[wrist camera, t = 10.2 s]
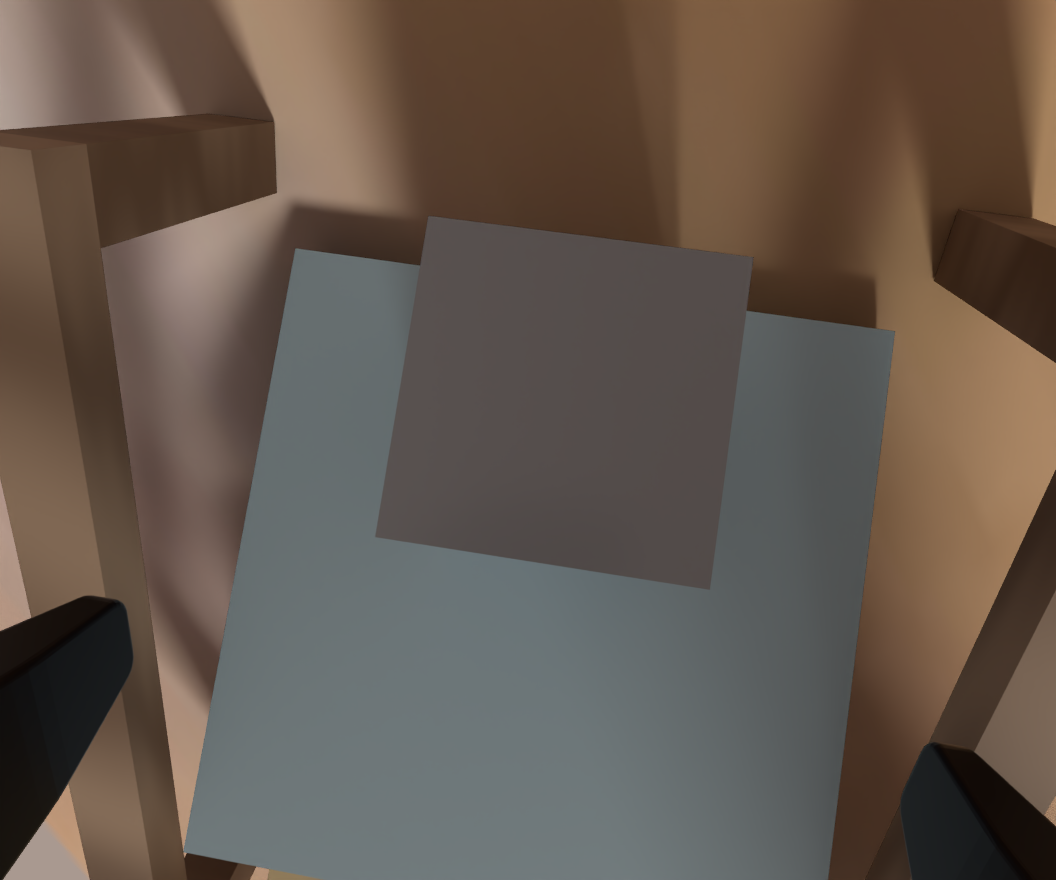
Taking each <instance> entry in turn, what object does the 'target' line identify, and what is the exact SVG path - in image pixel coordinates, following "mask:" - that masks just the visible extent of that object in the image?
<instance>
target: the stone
mask: <svg viewBox="0 0 1056 880" xmlns="http://www.w3.org/2000/svg"><path fill="white" fill-rule="evenodd" d="M753 258H754V257H748V256H740V255H732V254H724V253H717V252H709V251H701V250H693V249H685V248H677V247H670V246H662V245H654V244H646V243H638V242H630V241H622V240H615V239H607V238H599V237H591V236H583V235H575V234H568V233H560V232H552V231H544V230H536V229H528V228H521V227H513V226H505V225H497V224H489V223H481V222H474V221H466V220H458V219H450V218H442V217H434V216H428V221H427V227H426V233H425V239H424V245H423V251H422V257H421V263H420V269H419V275H418V282H417V288H416V294H415V300H414V306H413V312H412V318H411V324H410V330H409V336H408V342H407V348H406V354H405V360H404V366H403V372H402V378H401V384H400V390H399V396H398V402H397V408H396V414H395V420H394V426H393V432H392V438H391V444H390V450H389V456H388V462H387V468H386V474H385V480H384V486H383V492H382V498H381V504H380V510H379V516H378V522H377V529H376V535H375V537H377V538H384V539H390V540H396V541H403V542H409V543H415V544H422V545H428V546H435V547H441V548H447V549H454V550H460V551H466V552H473V553H479V554H485V555H492V556H498V557H504V558H511V559H517V560H523V561H530V562H536V563H543V564H549V565H555V566H562V567H568V568H574V569H581V570H587V571H593V572H600V573H606V574H612V575H619V576H625V577H631V578H638V579H644V580H650V581H657V582H663V583H670V584H676V585H682V586H689V587H695V588H701V589H708V590H710V585H711V578H712V570H713V562H714V555H715V547H716V540H717V532H718V524H719V517H720V509H721V502H722V494H723V486H724V479H725V471H726V463H727V456H728V448H729V441H730V433H731V425H732V418H733V410H734V402H735V395H736V387H737V380H738V372H739V364H740V357H741V349H742V342H743V334H744V326H745V319H746V311H747V303H748V296H749V288H750V281H751V273H752V265H753Z"/></svg>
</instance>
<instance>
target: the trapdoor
mask: <svg viewBox="0 0 1056 880" xmlns="http://www.w3.org/2000/svg"><path fill="white" fill-rule="evenodd" d="M419 269H420V265H412V264H405V263H398V262H391V261H383V260H376V259H369V258H362V257H355V256H347V255H340V254H333V253H326V252H318V251H311V250H304V249H297V248H295V254H294V259H293V264H292V270H291V275H290V281H289V286H288V291H287V297H286V302H285V307H284V313H283V318H282V324H281V329H280V334H279V340H278V345H277V351H276V356H275V361H274V367H273V372H272V377H271V383H270V388H269V394H268V399H267V404H266V410H265V415H264V421H263V426H262V431H261V437H260V442H259V447H258V453H257V458H256V464H255V469H254V474H253V480H252V485H251V491H250V496H249V501H248V507H247V512H246V517H245V523H244V528H243V534H242V539H241V544H240V550H239V555H238V561H237V566H236V571H235V577H234V582H233V587H232V593H231V598H230V604H229V609H228V614H227V620H226V625H225V631H224V636H223V641H222V647H221V652H220V657H219V663H218V668H217V674H216V679H215V684H214V690H213V695H212V700H211V706H210V711H209V717H208V722H207V727H206V733H205V738H204V744H203V749H202V754H201V760H200V765H199V770H198V776H197V781H196V787H195V792H194V797H193V803H192V808H191V814H190V819H189V824H188V830H187V835H186V840H185V846H184V851H183V852H185V853H191V854H196V855H201V856H206V857H211V858H216V859H221V860H226V861H231V862H236V863H241V864H247V865H252V866H257V867H262V868H267V869H269V874H268V880H828V875H829V867H830V859H831V851H832V843H833V834H834V826H835V818H836V810H837V802H838V794H839V785H840V777H841V769H842V761H843V753H844V744H845V736H846V728H847V720H848V712H849V704H850V695H851V687H852V679H853V671H854V663H855V654H856V646H857V638H858V630H859V622H860V614H861V605H862V597H863V589H864V581H865V573H866V564H867V556H868V548H869V540H870V532H871V524H872V515H873V507H874V499H875V491H876V483H877V474H878V466H879V458H880V450H881V442H882V434H883V425H884V417H885V409H886V401H887V393H888V384H889V376H890V368H891V360H892V352H893V343H894V335H895V331H889V330H882V329H874V328H867V327H860V326H853V325H846V324H838V323H831V322H824V321H817V320H809V319H802V318H795V317H788V316H781V315H773V314H766V313H759V312H752V311H746V319H745V326H744V334H743V342H742V349H741V357H740V364H739V372H738V380H737V387H736V395H735V402H734V410H733V418H732V425H731V433H730V441H729V448H728V456H727V463H726V471H725V479H724V486H723V494H722V502H721V509H720V517H719V524H718V532H717V540H716V547H715V555H714V562H713V570H712V578H711V585H710V590H708V589H701V588H695V587H689V586H682V585H676V584H670V583H663V582H657V581H650V580H644V579H638V578H631V577H625V576H619V575H612V574H606V573H600V572H593V571H587V570H581V569H574V568H568V567H562V566H555V565H549V564H543V563H536V562H530V561H523V560H517V559H511V558H504V557H498V556H492V555H485V554H479V553H473V552H466V551H460V550H454V549H447V548H441V547H435V546H428V545H422V544H415V543H409V542H403V541H396V540H390V539H384V538H377V537H375V535H376V529H377V522H378V516H379V510H380V504H381V498H382V492H383V486H384V480H385V474H386V468H387V462H388V456H389V450H390V444H391V438H392V432H393V426H394V420H395V414H396V408H397V402H398V396H399V390H400V384H401V378H402V372H403V366H404V360H405V354H406V348H407V342H408V336H409V330H410V324H411V318H412V312H413V306H414V300H415V294H416V288H417V282H418V275H419Z"/></svg>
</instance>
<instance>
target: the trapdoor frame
mask: <svg viewBox="0 0 1056 880" xmlns="http://www.w3.org/2000/svg"><path fill="white" fill-rule="evenodd" d="M275 193H277V187H276V159H275V131H274V122H270V121H262V120H254V119H246V118H238V117H230V116H222V115H215V114H199V115H186V116H174V117H161V118H148V119H135V120H123V121H110V122H97V123H85V124H72V125H59V126H47V127H34V128H21V129H9V130H0V479H1V483H2V488H3V492H4V497H5V501H6V506H7V510H8V515H9V519H10V524H11V528H12V533H13V537H14V542H15V546H16V551H17V555H18V560H19V564H20V568H21V573H22V577H23V582H24V586H25V591H26V595H27V600H28V604H29V609H30V613H31V618H32V617H35V616H37V615H39V614H42V613H44V612H46V611H49V610H51V609H53V608H56V607H58V606H61V605H63V604H65V603H68V602H70V601H72V600H75V599H77V598H80V597H82V596H87V595H94V596H100V597H105V598H111V599H117V600H119V601H121V602H122V603H123V604H124V605H125V607H126V609H127V613H128V620H129V626H130V633H131V640H132V646H133V653H134V659H133V666H132V670H131V672H130V675H129V677H128V679H127V681H126V683H125V684H124V686H123V688H122V690H121V691H120V693H119V695H118V697H117V698H116V700H115V702H114V704H113V705H112V707H111V709H110V711H109V713H108V714H107V716H106V718H105V720H104V721H103V723H102V725H101V727H100V728H99V730H98V732H97V734H96V735H95V737H94V739H93V741H92V743H91V744H90V746H89V748H88V750H87V751H86V753H85V755H84V757H83V758H82V760H81V762H80V764H79V765H78V767H77V769H76V771H75V773H74V774H73V776H72V778H71V780H70V781H69V783H68V784H69V788H70V793H71V797H72V802H73V806H74V811H75V815H76V820H77V824H78V829H79V833H80V837H81V842H82V846H83V851H84V855H85V860H86V864H87V869H88V873H89V878H90V880H250V878H251V876H252V874H253V872H254V870H255V868H256V866H252V865H247V864H241V863H236V862H231V861H226V860H221V859H216V858H211V857H206V856H201V855H196V854H191V853H187V854H186V856H185V858H184V854H183V847H182V839H181V832H180V825H179V817H178V810H177V803H176V795H175V788H174V781H173V773H172V766H171V759H170V752H169V744H168V737H167V730H166V722H165V715H164V708H163V700H162V693H161V686H160V679H159V671H158V664H157V657H156V649H155V642H154V635H153V627H152V620H151V613H150V605H149V598H148V591H147V584H146V576H145V569H144V562H143V554H142V547H141V540H140V532H139V525H138V518H137V510H136V503H135V496H134V489H133V481H132V474H131V467H130V459H129V452H128V445H127V437H126V430H125V423H124V416H123V408H122V401H121V394H120V386H119V379H118V372H117V364H116V357H115V350H114V342H113V335H112V328H111V321H110V313H109V306H108V299H107V291H106V284H105V277H104V269H103V262H102V255H101V248H103V247H106V246H109V245H113V244H116V243H119V242H122V241H125V240H129V239H132V238H135V237H138V236H141V235H144V234H148V233H151V232H154V231H157V230H160V229H164V228H167V227H170V226H173V225H176V224H179V223H183V222H186V221H189V220H192V219H195V218H199V217H202V216H205V215H208V214H211V213H214V212H218V211H221V210H224V209H227V208H230V207H234V206H237V205H240V204H243V203H246V202H249V201H253V200H256V199H259V198H262V197H265V196H269V195H272V194H275ZM934 281H935V282H936V283H938V284H939V285H941V286H942V287H944V288H945V289H947V290H948V291H950V292H951V293H953V294H954V295H956V296H957V297H959V298H960V299H962V300H963V301H965V302H966V303H968V304H969V305H971V306H972V307H974V308H975V309H977V310H978V311H980V312H981V313H982V314H984V315H985V316H987V317H988V318H990V319H991V320H993V321H994V322H996V323H997V324H999V325H1000V326H1002V327H1003V328H1005V329H1006V330H1008V331H1009V332H1011V333H1012V334H1014V335H1015V336H1017V337H1018V338H1020V339H1021V340H1023V341H1024V342H1026V343H1027V344H1029V345H1030V346H1031V347H1033V348H1034V349H1036V350H1037V351H1039V352H1040V353H1042V354H1043V355H1045V356H1046V357H1048V358H1049V359H1051V360H1052V361H1054V362H1055V363H1056V226H1053V225H1051V224H1048V223H1045V222H1042V221H1039V220H1036V219H1033V218H1025V217H1017V216H1009V215H1002V214H994V213H986V212H978V211H970V210H962V209H958V212H957V215H956V218H955V221H954V223H953V226H952V229H951V232H950V235H949V238H948V241H947V244H946V247H945V250H944V253H943V256H942V258H941V261H940V264H939V267H938V270H937V273H936V276H935V279H934ZM930 742H941V743H946V744H952V745H958V746H963V747H967V748H969V749H971V750H973V751H974V752H975V753H977V754H978V755H979V756H980V757H981V758H982V759H983V760H984V761H986V762H987V763H988V764H989V765H990V766H991V767H992V768H993V769H994V770H995V771H996V772H997V773H999V774H1000V775H1001V776H1002V777H1003V778H1004V779H1005V780H1006V781H1007V782H1008V783H1009V784H1011V785H1012V786H1013V787H1014V788H1015V789H1016V790H1017V791H1018V792H1019V793H1020V794H1021V795H1022V796H1024V797H1025V798H1026V799H1027V800H1028V801H1029V802H1030V803H1031V804H1032V805H1033V806H1034V807H1036V808H1037V809H1038V810H1039V811H1040V812H1041V813H1042V814H1043V815H1044V814H1045V813H1046V811H1047V809H1048V808H1049V806H1050V804H1051V802H1052V801H1053V799H1054V797H1055V796H1056V470H1055V472H1054V474H1053V477H1052V479H1051V481H1050V483H1049V485H1048V487H1047V490H1046V492H1045V494H1044V496H1043V498H1042V500H1041V502H1040V505H1039V507H1038V509H1037V511H1036V513H1035V515H1034V518H1033V520H1032V522H1031V524H1030V526H1029V528H1028V530H1027V533H1026V535H1025V537H1024V539H1023V541H1022V543H1021V545H1020V548H1019V550H1018V552H1017V554H1016V556H1015V558H1014V561H1013V563H1012V565H1011V567H1010V569H1009V571H1008V573H1007V576H1006V578H1005V580H1004V582H1003V584H1002V586H1001V588H1000V591H999V593H998V595H997V597H996V599H995V601H994V604H993V606H992V608H991V610H990V612H989V614H988V616H987V619H986V621H985V623H984V625H983V627H982V629H981V632H980V634H979V636H978V638H977V640H976V642H975V644H974V647H973V649H972V651H971V653H970V655H969V657H968V659H967V662H966V664H965V666H964V668H963V670H962V672H961V675H960V677H959V679H958V681H957V683H956V685H955V687H954V690H953V692H952V694H951V696H950V698H949V700H948V703H947V705H946V707H945V709H944V711H943V713H942V715H941V718H940V720H939V722H938V724H937V726H936V728H935V730H934V733H933V735H932V737H931V739H930V741H929V743H930ZM865 880H912V878H911V873H910V867H909V861H908V855H907V850H906V844H905V838H904V833H903V827H902V821H901V815H900V806H899V808H898V810H897V812H896V814H895V817H894V819H893V821H892V823H891V825H890V827H889V829H888V832H887V834H886V836H885V838H884V840H883V842H882V844H881V847H880V849H879V851H878V853H877V855H876V857H875V860H874V862H873V864H872V866H871V868H870V870H869V872H868V875H867V877H866V879H865Z"/></svg>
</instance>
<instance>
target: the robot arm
mask: <svg viewBox="0 0 1056 880" xmlns="http://www.w3.org/2000/svg"><path fill="white" fill-rule="evenodd" d="M133 659H134V653H133V646H132V640H131V633H130V626H129V620H128V613H127V609H126V607H125V605H124V604H123V603H122V602H121V601H119V600H117V599H111V598H105V597H100V596H94V595H87V596H82V597H80V598H77V599H75V600H72V601H70V602H68V603H65V604H63V605H61V606H58V607H56V608H53V609H51V610H49V611H46V612H44V613H42V614H39V615H37V616H35V617H32V618H30V619H28V620H25V621H23V622H21V623H18V624H16V625H13V626H11V627H9V628H6V629H4V630H2V631H0V880H3V879H4V877H5V876H6V874H7V873H8V872H9V870H10V869H11V867H12V866H13V864H14V863H15V861H16V860H17V859H18V857H19V856H20V854H21V853H22V852H23V850H24V849H25V847H26V846H27V844H28V843H29V842H30V840H31V839H32V837H33V836H34V834H35V833H36V832H37V830H38V829H39V827H40V826H41V824H42V823H43V822H44V820H45V819H46V817H47V816H48V814H49V813H50V811H51V810H52V808H53V807H54V805H55V804H56V802H57V801H58V799H59V798H60V796H61V794H62V793H63V791H64V789H65V788H66V786H67V784H68V783H69V781H70V780H71V778H72V776H73V774H74V773H75V771H76V769H77V767H78V765H79V764H80V762H81V760H82V758H83V757H84V755H85V753H86V751H87V750H88V748H89V746H90V744H91V743H92V741H93V739H94V737H95V735H96V734H97V732H98V730H99V728H100V727H101V725H102V723H103V721H104V720H105V718H106V716H107V714H108V713H109V711H110V709H111V707H112V705H113V704H114V702H115V700H116V698H117V697H118V695H119V693H120V691H121V690H122V688H123V686H124V684H125V683H126V681H127V679H128V677H129V675H130V672H131V670H132V666H133ZM900 815H901V821H902V827H903V833H904V838H905V844H906V850H907V855H908V861H909V867H910V873H911V878H912V880H1056V826H1055V825H1054V824H1053V823H1052V822H1051V821H1050V820H1049V819H1047V818H1046V817H1045V816H1044V815H1043V814H1042V813H1041V812H1040V811H1039V810H1038V809H1037V808H1036V807H1034V806H1033V805H1032V804H1031V803H1030V802H1029V801H1028V800H1027V799H1026V798H1025V797H1024V796H1022V795H1021V794H1020V793H1019V792H1018V791H1017V790H1016V789H1015V788H1014V787H1013V786H1012V785H1011V784H1009V783H1008V782H1007V781H1006V780H1005V779H1004V778H1003V777H1002V776H1001V775H1000V774H999V773H997V772H996V771H995V770H994V769H993V768H992V767H991V766H990V765H989V764H988V763H987V762H986V761H984V760H983V759H982V758H981V757H980V756H979V755H978V754H977V753H975V752H974V751H973V750H971V749H969V748H967V747H963V746H958V745H952V744H946V743H941V742H930V743H928V744H927V745H926V746H924V748H923V749H922V751H921V753H920V755H919V757H918V760H917V762H916V764H915V766H914V768H913V771H912V773H911V775H910V777H909V779H908V781H907V784H906V786H905V788H904V790H903V793H902V797H901V803H900Z"/></svg>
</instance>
